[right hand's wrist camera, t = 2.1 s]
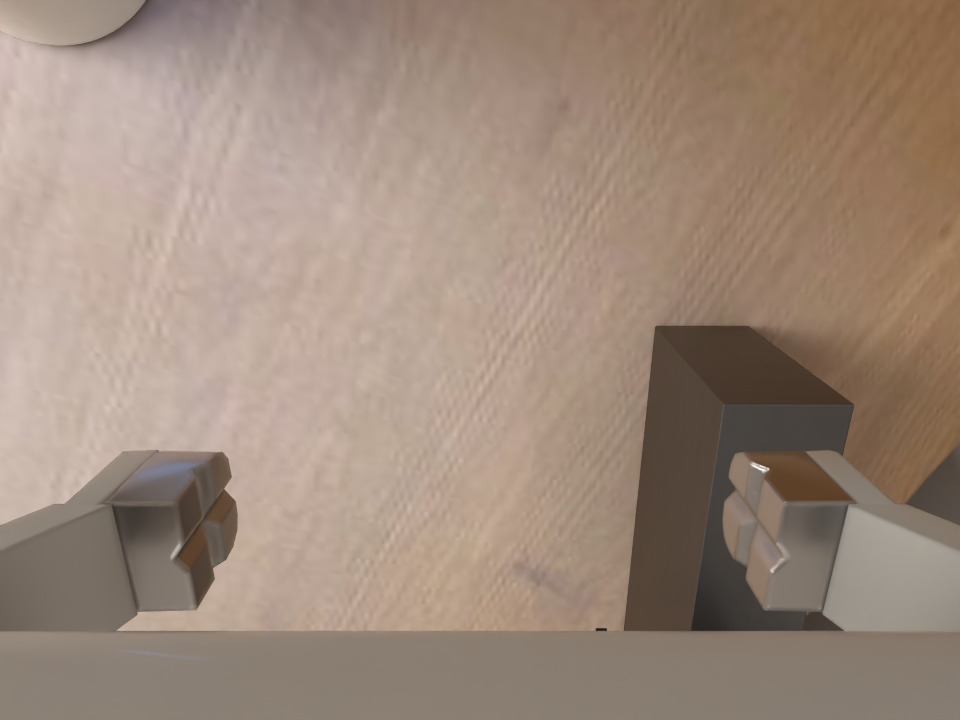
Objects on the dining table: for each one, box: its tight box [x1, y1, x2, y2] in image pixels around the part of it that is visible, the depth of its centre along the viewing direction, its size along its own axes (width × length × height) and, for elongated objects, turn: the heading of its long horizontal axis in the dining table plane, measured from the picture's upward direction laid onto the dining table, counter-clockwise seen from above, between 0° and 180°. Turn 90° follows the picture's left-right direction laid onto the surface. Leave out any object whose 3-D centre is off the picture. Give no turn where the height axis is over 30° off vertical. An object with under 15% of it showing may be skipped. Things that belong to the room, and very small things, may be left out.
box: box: [624, 326, 854, 631], centre depth 40 cm, size 26×6×12 cm, turn 0°
